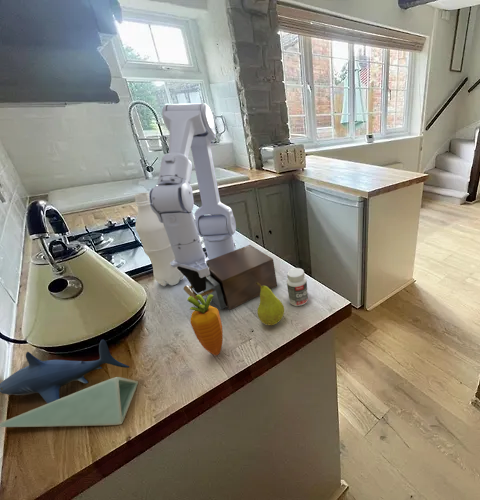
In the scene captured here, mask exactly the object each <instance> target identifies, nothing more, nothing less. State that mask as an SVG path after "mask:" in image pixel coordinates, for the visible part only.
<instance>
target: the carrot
mask: <svg viewBox="0 0 480 500" xmlns="http://www.w3.org/2000/svg"><path fill="white" fill-rule="evenodd" d="M200 294H201V293H198V294H197V295H196V297H197V298H198V301H197V300H196V299H195V298H193V297H192V296H188V297H187V299H186V301H187V302H189V303H190V304H192V305H193V306H191V307H190V308H189V310H191V311H192V313H191V315H190V320H189V321H190V325H191V328H192V330H193V333H194V335H195V337H196V339H197V340H198V342H199V344H200V345H201V346H202V347H203V349H205V350H206V351H207V352H208V353H210V354H212V355H213V356H214V357H216V356H219V355H220V353H221V351H222V346H223V341H224V340H223V338H224V337H223V335H224V333H223V323H222V318H221V314H220V311H219V309H218V308H217V307H216V306H215V307H214V306H212V305H211V302H212V298H213V295H211V294H210V295H209V296H207V297H206V300H205V299H204V296H201V295H200Z"/></svg>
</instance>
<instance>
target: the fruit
mask: <svg viewBox="0 0 480 500" xmlns="http://www.w3.org/2000/svg"><path fill="white" fill-rule="evenodd" d="M256 284H257V285H259V286H260V287H261V292H260V295H259V304H258V306H257V309H256V310H257V311H256V313H257V316H258V317H257V318H258V319H259V320H260V322H261V323H262V324H264V325H266V326H274V325H276V324H278V323H279V322H280V321H281V320H282V319H283V317H284V314H285V306H284V304H283V302H282V301H281V300H280V299H279V298H278V297H277V296H276V295H275V294H274V293H273V291H272V289H271V290H270V289H269V288H268V287H267V286H261V285H260V284H259V283H258V282H256Z"/></svg>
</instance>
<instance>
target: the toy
mask: <svg viewBox="0 0 480 500" xmlns="http://www.w3.org/2000/svg"><path fill="white" fill-rule="evenodd" d="M98 353H99V359H96V360H95V359H94V360H88V361H84V360H67V359H49V360H48V359H47V360H41V359H39V358H38V357H36V356H34V355H33V354H32V353H31V352H29V351H26V353H25V358H26V361H27V363H28V365H26V366H25V367H22V368H20V369H18V370H17V371H16V372H14V373H12V374H11V375H9V376H8V377H7V378H5V379H4V380H2V381H1V382H0V394H2V395H3V394H4V395H8V396H12V395H14V396H26V395H32V394H39V395H40V397H41V398H42V399H43V400H44V401H45V403H46V404H48V403H50V402H53V401H55V400H58V399H60V390H61V389H62V387H63V386H65V385H67V384H69V383H71V382H76V381H79V382H81V383H83V384H88V383H89V381H88V379H86V378H85V376H86V375H87V374H88V373H91V372H92V371H95V370H101V369H103V367H102V366H101V365H103V364H107V365H111V366H114V367H117V368H118V367H119V368H126V369H127V368H129V369H130V366H129V365H128V364H125V363H123V362H120V361H118V360H117V359H116V358H114V356H113V355H111V352H110V349H109V346H108V344H107V341H106V340H105V339H101V340H100V342H99V344H98Z"/></svg>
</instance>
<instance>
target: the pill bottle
mask: <svg viewBox="0 0 480 500" xmlns="http://www.w3.org/2000/svg"><path fill="white" fill-rule="evenodd" d="M286 276H287V280H286V286H287V287H286V288H287V294H288V301H289V304H290V305H291V306H296V307H301V306H303V305H305V304H307V303H308V301H309V294H308V282H307V278H306V277H305V276H306V275H305V271H304V269H302V268H300V267H294V268H290V269H289V270H288V271H287V273H286Z"/></svg>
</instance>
